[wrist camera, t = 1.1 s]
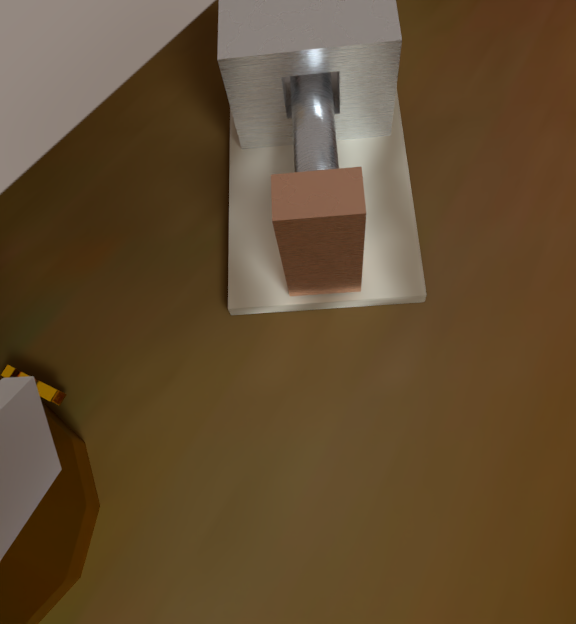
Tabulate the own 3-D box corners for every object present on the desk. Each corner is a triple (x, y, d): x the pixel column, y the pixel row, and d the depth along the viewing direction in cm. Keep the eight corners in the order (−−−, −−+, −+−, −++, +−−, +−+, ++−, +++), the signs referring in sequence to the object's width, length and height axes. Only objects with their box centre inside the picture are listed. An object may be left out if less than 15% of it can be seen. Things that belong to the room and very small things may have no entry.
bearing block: (380, 61, 45) (388, -44, 37) (390, 135, 42) (401, 39, 34) (241, 75, 46) (219, -24, 38) (241, 149, 43) (217, 59, 35)
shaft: (343, 98, 44) (342, -17, 34) (360, 291, 37) (366, 213, 28) (282, 104, 44) (266, -8, 35) (289, 296, 37) (272, 220, 28)
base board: (390, 62, 47) (391, 51, 46) (424, 301, 38) (426, 295, 37) (233, 78, 48) (230, 67, 47) (231, 314, 39) (227, 308, 38)
